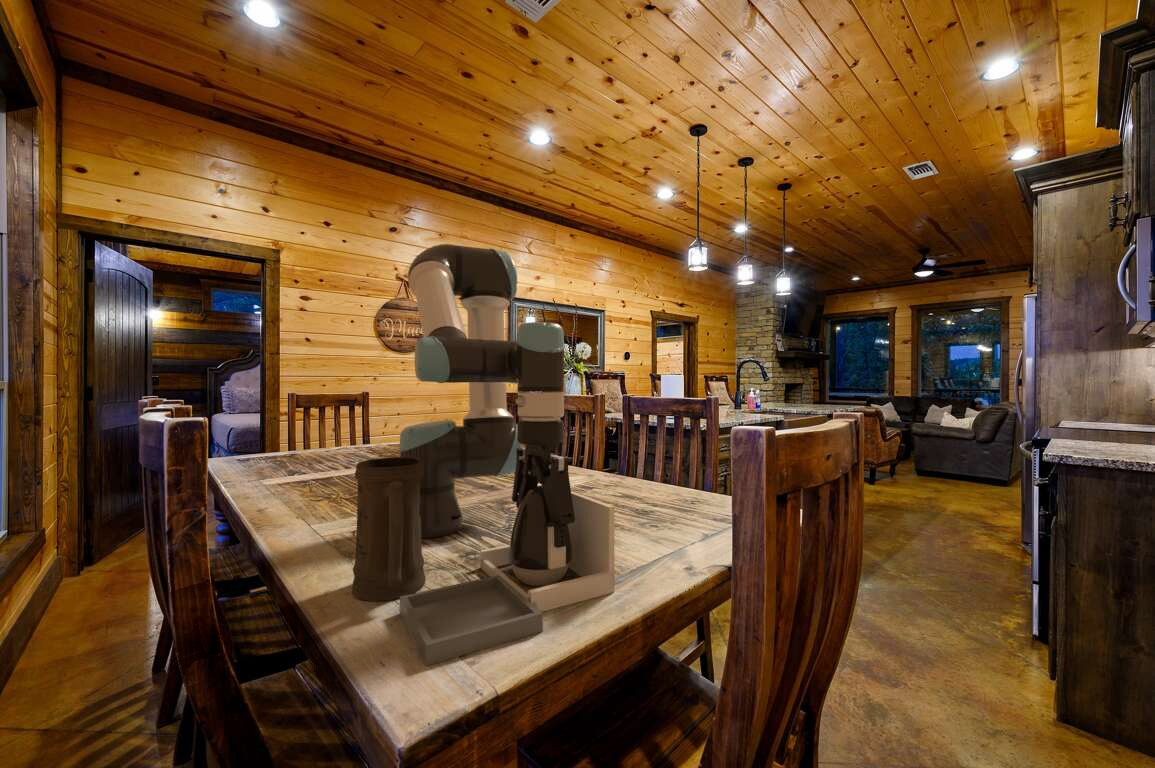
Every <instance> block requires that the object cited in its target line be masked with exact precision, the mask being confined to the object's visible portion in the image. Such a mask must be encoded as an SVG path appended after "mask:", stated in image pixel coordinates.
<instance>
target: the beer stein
mask: <svg viewBox="0 0 1155 768" xmlns="http://www.w3.org/2000/svg"><path fill="white" fill-rule="evenodd" d="M423 473H424V470H423V465H422V461H421V460H419V459H416V458H406V457H400V456H396V457H395V456H394V457H381V458H380V457H379V458H372V459H367V460H362V461H360V462H357V464H356V467H355V471H354V478H355V479H356V480H357V501H356V502H357V503H356V504H357V505H356V536H355V554H354V555H355V558H354V564H353V568H352V572H353V573H352V574H353V581H352V584H351V585H352V586H351V594H352V595H353V596H354V597H355V598H357V599H359V600H363V601H368V602H383V601H393V600H397V599H400V596H405V595H409V594H414V593H417V592H418V591H419V590H421V589H422V588H423V587H424V586H425V584H426V581H427V580H426V574H425V570H424V566H425V559H424V556H423V550H422V549H423V548H422V538H421V518H420V515H419V502H420V478H421V476H422V475H423Z"/></svg>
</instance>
